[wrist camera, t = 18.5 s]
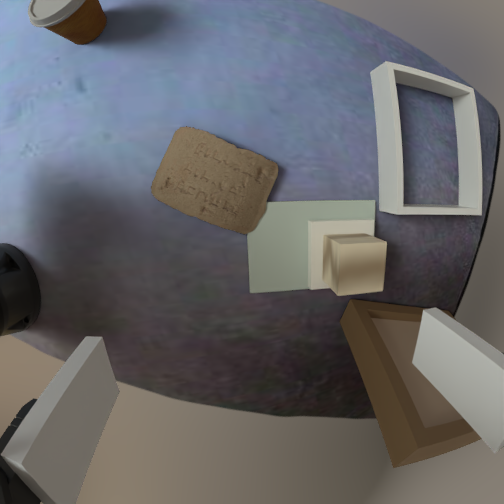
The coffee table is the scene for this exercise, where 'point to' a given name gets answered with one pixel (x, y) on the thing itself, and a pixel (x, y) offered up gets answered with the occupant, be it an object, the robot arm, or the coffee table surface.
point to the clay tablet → (214, 180)
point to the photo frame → (401, 383)
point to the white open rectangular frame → (392, 141)
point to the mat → (292, 240)
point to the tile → (316, 243)
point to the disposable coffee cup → (69, 18)
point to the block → (353, 263)
